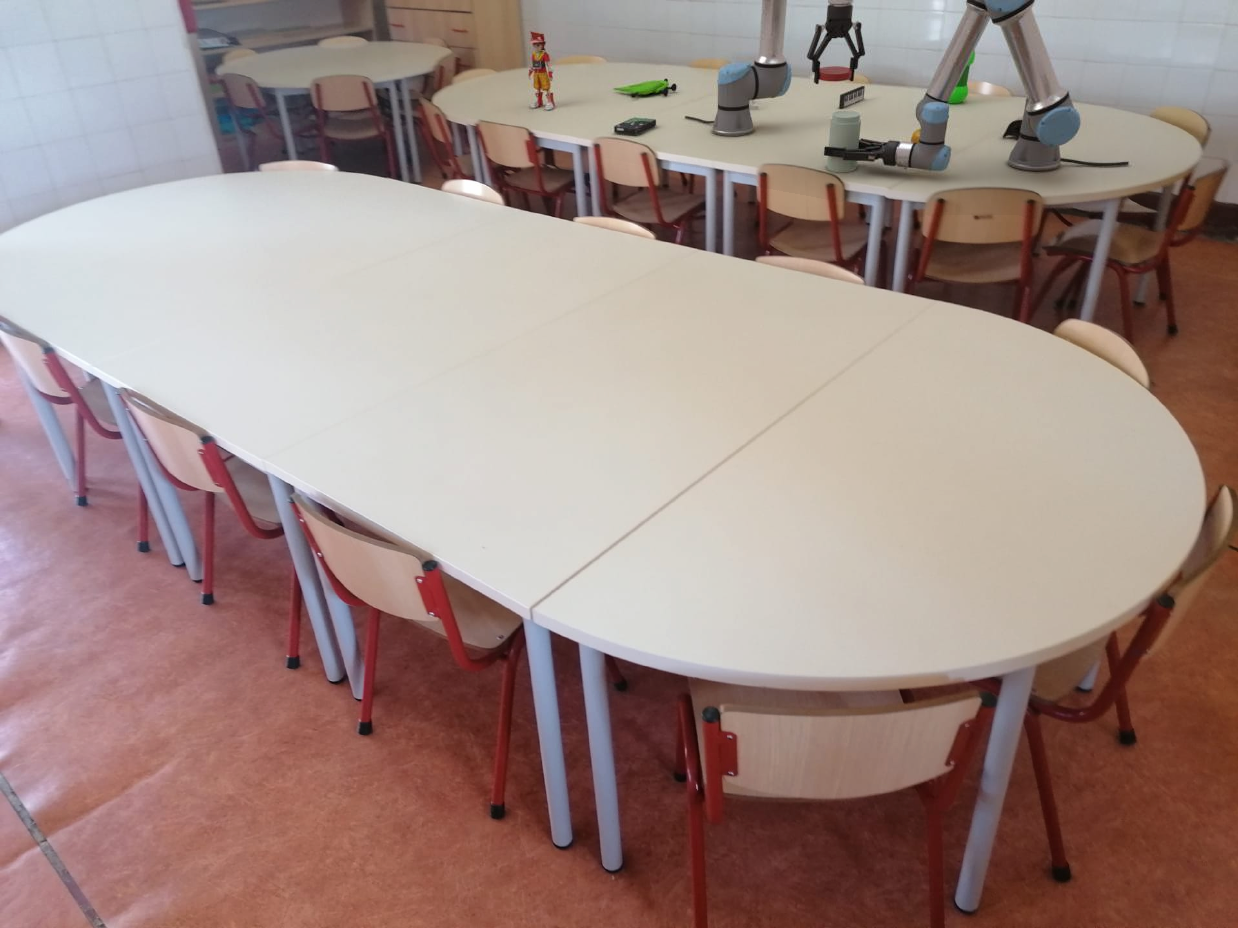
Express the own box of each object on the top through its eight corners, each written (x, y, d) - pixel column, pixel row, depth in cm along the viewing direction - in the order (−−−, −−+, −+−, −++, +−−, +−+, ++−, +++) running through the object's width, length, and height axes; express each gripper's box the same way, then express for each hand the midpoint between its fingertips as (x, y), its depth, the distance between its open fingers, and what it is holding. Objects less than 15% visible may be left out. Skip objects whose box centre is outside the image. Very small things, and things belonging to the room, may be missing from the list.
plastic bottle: (973, 101, 354) (984, 32, 339) (955, 106, 349) (966, 36, 335) (952, 97, 361) (962, 29, 346) (934, 102, 356) (944, 33, 342)
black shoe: (1032, 109, 328) (1056, 91, 320) (1046, 130, 329) (1070, 113, 320) (998, 131, 311) (1023, 113, 303) (1012, 153, 311) (1038, 136, 303)
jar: (825, 164, 298) (829, 111, 288) (853, 163, 297) (858, 110, 287) (829, 173, 290) (833, 118, 280) (858, 172, 289) (864, 117, 280)
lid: (851, 81, 277) (851, 74, 276) (816, 81, 279) (817, 74, 278) (851, 73, 285) (852, 66, 284) (817, 73, 287) (818, 66, 286)
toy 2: (686, 85, 398) (631, 84, 414) (685, 72, 395) (629, 72, 411) (651, 104, 381) (596, 103, 397) (650, 92, 378) (594, 91, 394)
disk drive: (637, 136, 338) (656, 126, 348) (636, 129, 336) (656, 118, 346) (613, 134, 342) (633, 123, 352) (613, 126, 341) (633, 116, 351)
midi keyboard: (841, 108, 355) (842, 95, 352) (838, 108, 356) (840, 94, 353) (863, 99, 366) (865, 86, 363) (860, 98, 366) (862, 86, 364)
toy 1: (525, 109, 381) (517, 32, 364) (534, 104, 388) (527, 28, 371) (550, 110, 377) (543, 32, 360) (559, 105, 384) (553, 28, 367)
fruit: (905, 142, 301) (920, 120, 298) (906, 145, 309) (921, 124, 306) (926, 156, 300) (941, 134, 296) (927, 158, 307) (942, 137, 304)
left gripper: (806, 9, 266) (801, 87, 279) (881, 3, 268) (873, 81, 281) (799, 5, 272) (794, 81, 285) (873, -1, 274) (865, 76, 287)
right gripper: (885, 176, 276) (816, 168, 286) (907, 156, 291) (841, 149, 302) (888, 151, 272) (818, 144, 282) (910, 132, 287) (843, 126, 297)
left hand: (833, 81), depth 283 cm, fingers closed on lid, 10 cm apart
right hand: (830, 147), depth 292 cm, fingers closed on jar, 9 cm apart
